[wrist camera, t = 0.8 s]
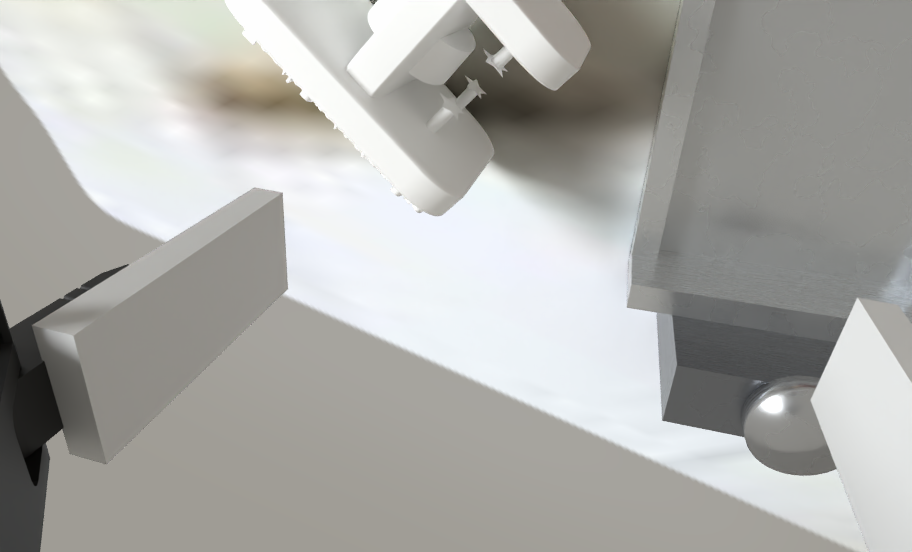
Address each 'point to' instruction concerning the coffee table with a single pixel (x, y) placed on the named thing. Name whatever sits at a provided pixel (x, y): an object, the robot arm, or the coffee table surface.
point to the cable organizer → (410, 76)
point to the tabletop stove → (773, 209)
